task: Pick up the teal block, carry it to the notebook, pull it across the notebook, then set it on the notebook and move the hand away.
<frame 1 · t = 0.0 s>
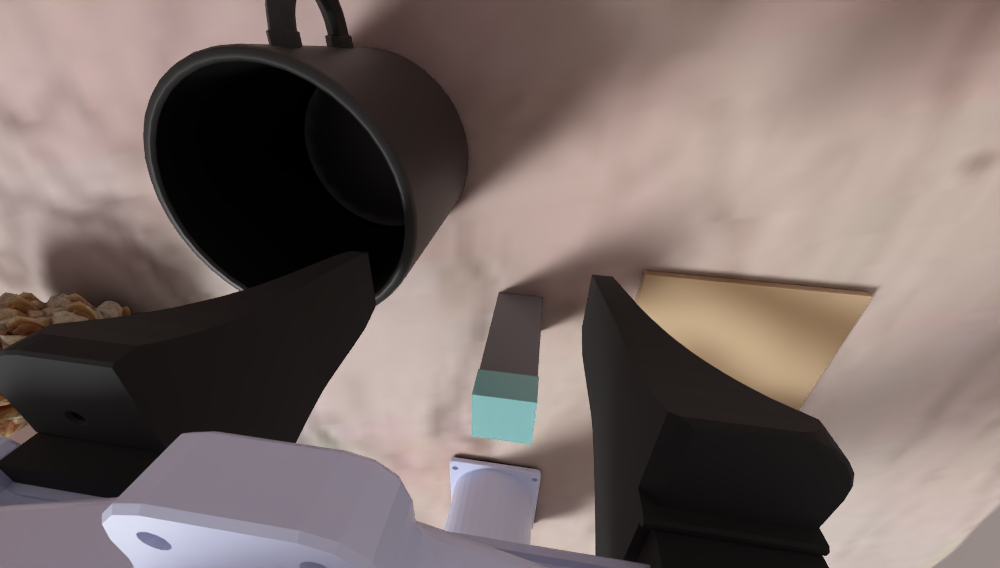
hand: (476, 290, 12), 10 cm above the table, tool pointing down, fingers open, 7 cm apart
mug: (382, 124, 20), on the table
pine cone: (153, 322, 30), on the table
notebook: (706, 382, 26), on the table
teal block: (519, 312, 25), on the table
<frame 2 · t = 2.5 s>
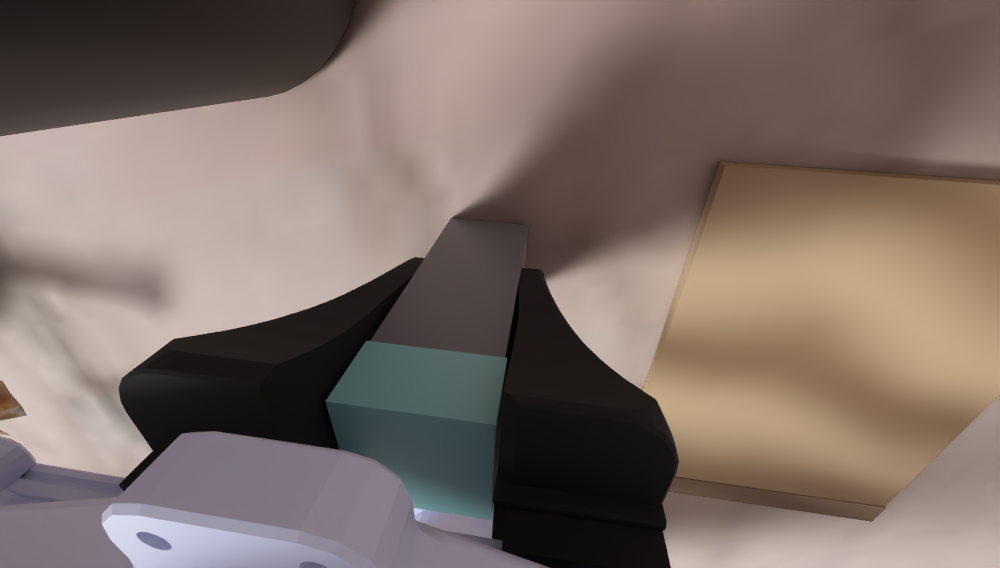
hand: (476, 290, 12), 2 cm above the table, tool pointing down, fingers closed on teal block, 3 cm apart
notebook: (808, 377, 15), on the table
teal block: (488, 256, 14), on the table, touching gripper
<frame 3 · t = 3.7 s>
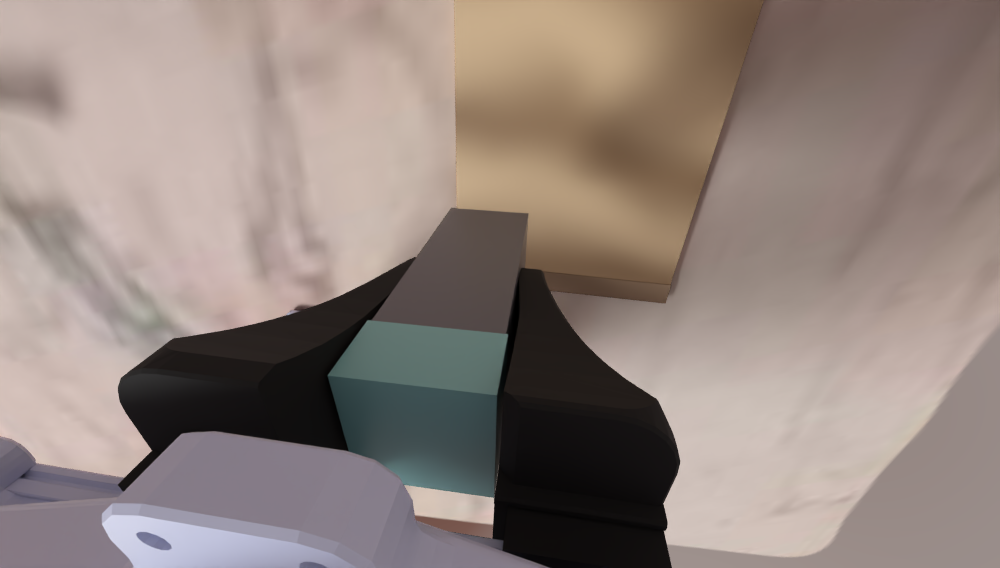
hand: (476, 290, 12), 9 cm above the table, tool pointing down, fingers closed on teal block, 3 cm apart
notebook: (579, 146, 19), on the table
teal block: (489, 246, 14), point 7 cm above the table, touching gripper
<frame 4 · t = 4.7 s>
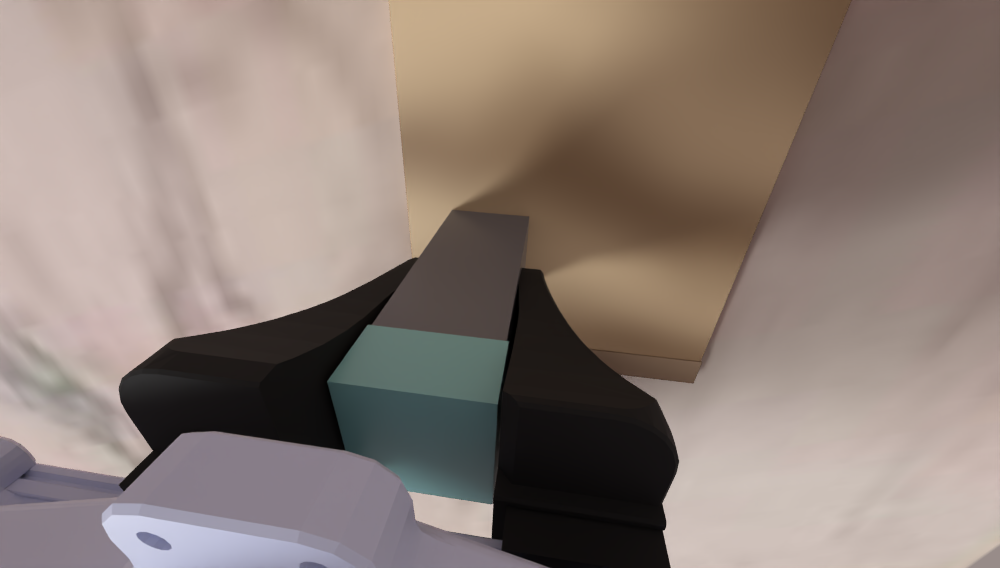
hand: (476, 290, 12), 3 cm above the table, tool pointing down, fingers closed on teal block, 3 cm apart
notebook: (577, 184, 13), on the table
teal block: (489, 248, 14), point 1 cm above the table, touching gripper
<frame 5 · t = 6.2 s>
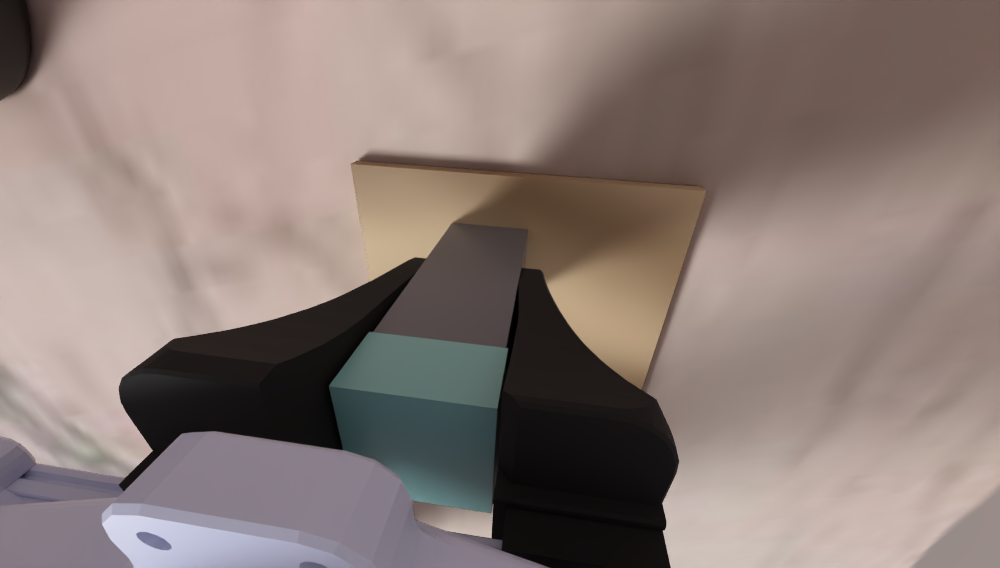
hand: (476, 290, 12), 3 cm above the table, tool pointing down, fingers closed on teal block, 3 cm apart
notebook: (510, 349, 17), on the table
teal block: (488, 260, 15), point 1 cm above the table, touching gripper, notebook
when the fingers open (3 cm above the table, at t = 7.1 s): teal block stays where it is, resting on notebook.
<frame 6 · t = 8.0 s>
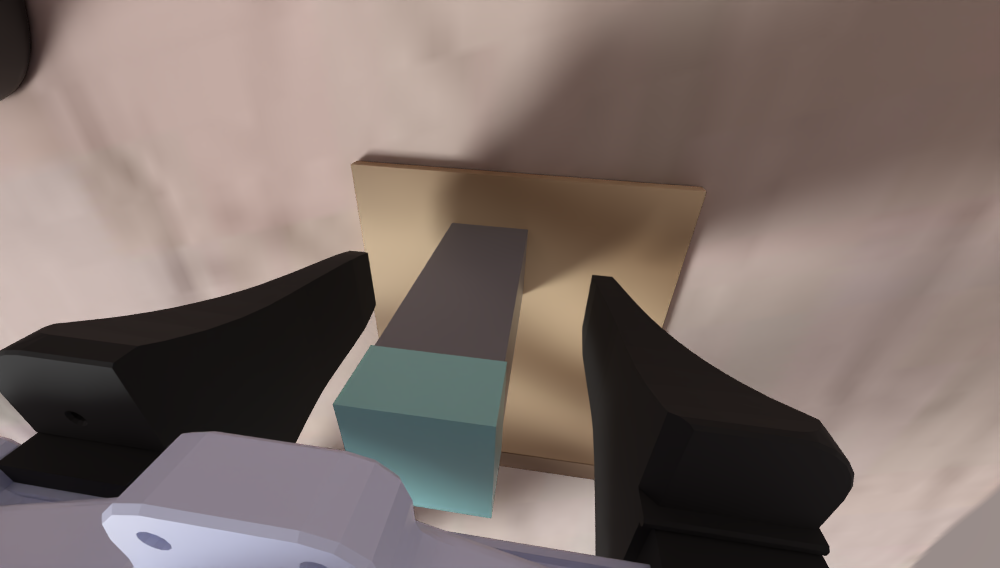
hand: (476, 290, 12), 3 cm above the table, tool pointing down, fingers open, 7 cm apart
notebook: (510, 349, 17), on the table
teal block: (488, 260, 15), resting on notebook
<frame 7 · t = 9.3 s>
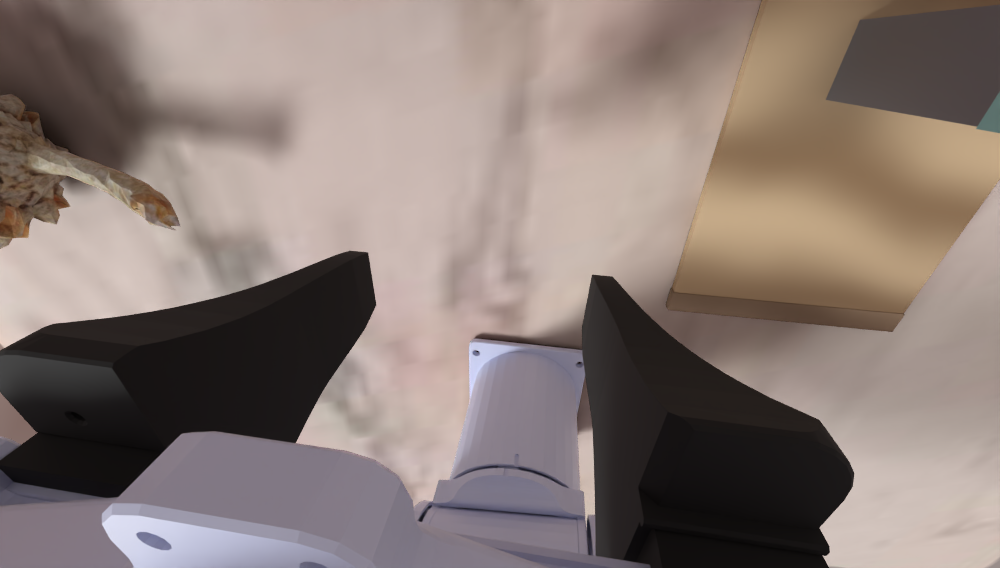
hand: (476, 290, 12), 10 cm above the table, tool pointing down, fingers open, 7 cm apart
pine cone: (76, 146, 23), on the table
notebook: (840, 178, 18), on the table
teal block: (879, 63, 15), resting on notebook
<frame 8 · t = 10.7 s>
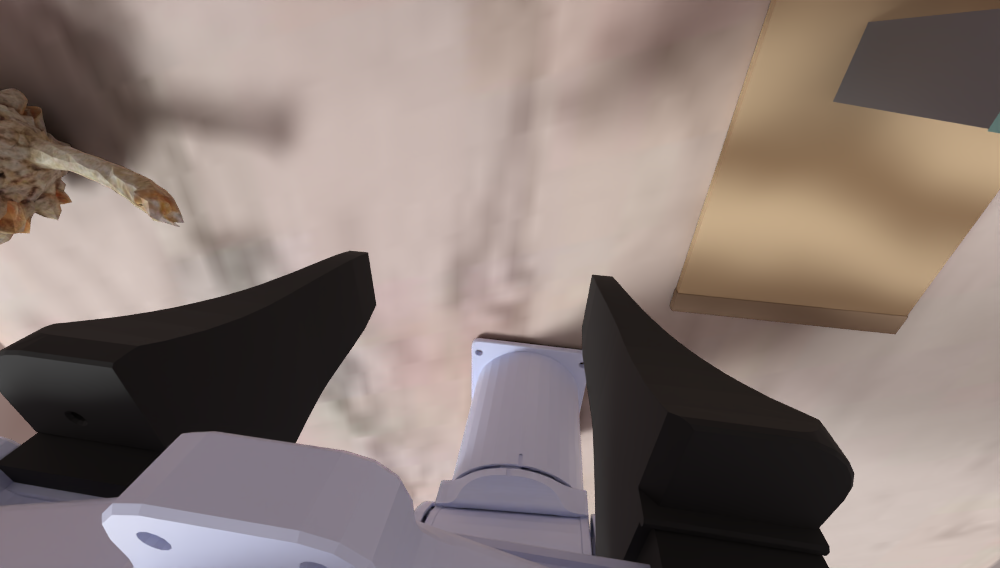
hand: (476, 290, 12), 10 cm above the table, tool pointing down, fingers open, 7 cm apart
pine cone: (79, 141, 23), on the table
notebook: (846, 180, 18), on the table
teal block: (887, 65, 15), resting on notebook
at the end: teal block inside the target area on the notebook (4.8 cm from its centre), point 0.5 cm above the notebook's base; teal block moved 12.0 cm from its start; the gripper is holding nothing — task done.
